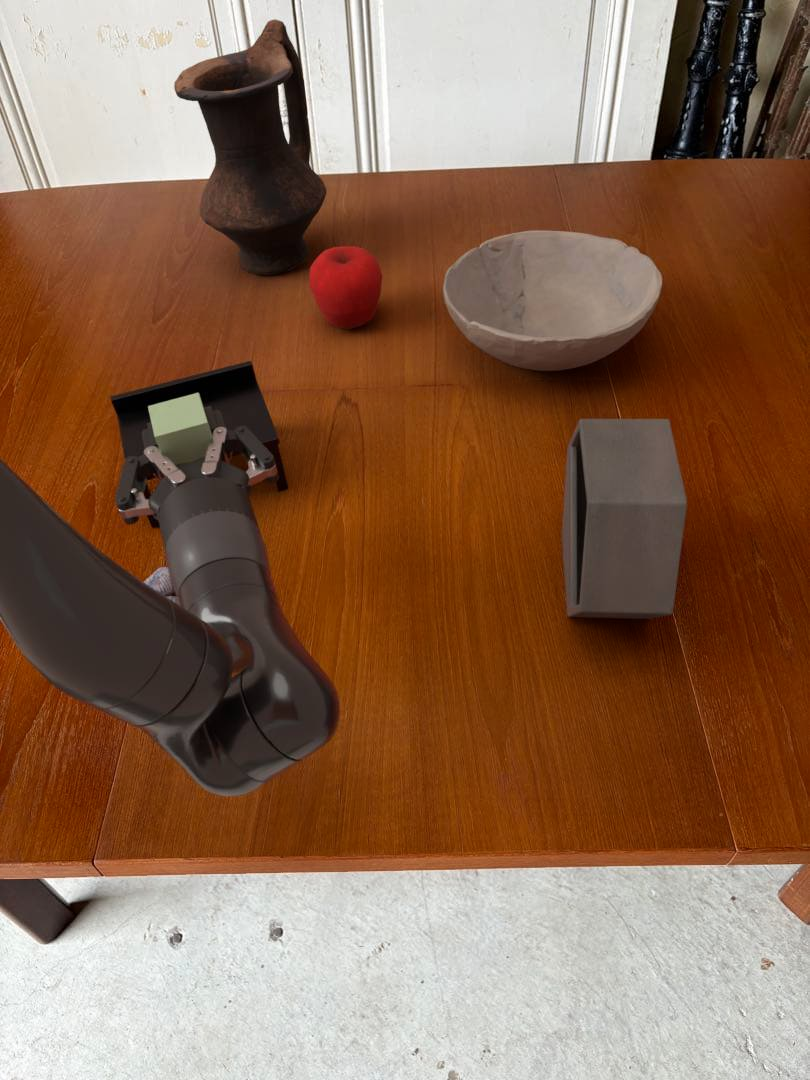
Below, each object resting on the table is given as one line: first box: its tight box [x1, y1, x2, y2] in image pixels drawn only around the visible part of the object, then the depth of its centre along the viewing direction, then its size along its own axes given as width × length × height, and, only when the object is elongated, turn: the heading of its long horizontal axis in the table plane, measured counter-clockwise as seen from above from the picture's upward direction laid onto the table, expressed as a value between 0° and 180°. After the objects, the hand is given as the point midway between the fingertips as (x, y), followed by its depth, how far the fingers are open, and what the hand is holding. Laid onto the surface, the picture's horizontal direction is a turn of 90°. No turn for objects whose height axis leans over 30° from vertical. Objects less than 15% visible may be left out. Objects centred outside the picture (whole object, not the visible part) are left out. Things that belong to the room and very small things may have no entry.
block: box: [148, 393, 213, 465], centre depth 74 cm, size 5×5×9 cm
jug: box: [173, 18, 327, 276], centre depth 115 cm, size 21×18×30 cm
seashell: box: [142, 566, 180, 606], centre depth 79 cm, size 5×5×10 cm
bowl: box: [442, 229, 663, 372], centre depth 104 cm, size 26×26×10 cm
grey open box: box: [561, 418, 688, 620], centre depth 74 cm, size 17×8×21 cm
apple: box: [308, 245, 383, 330], centre depth 110 cm, size 10×10×11 cm
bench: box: [109, 360, 289, 529], centre depth 91 cm, size 16×12×10 cm
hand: (181, 422), depth 75 cm, fingers closed on block, 4 cm apart
